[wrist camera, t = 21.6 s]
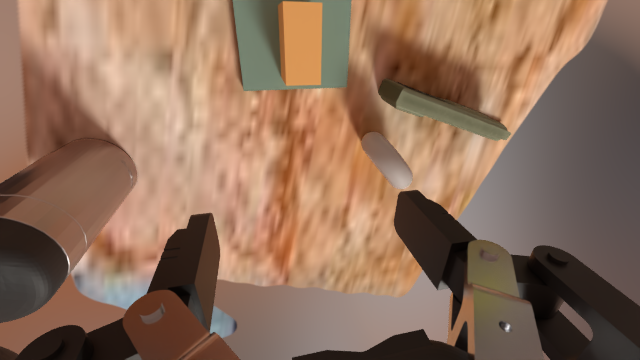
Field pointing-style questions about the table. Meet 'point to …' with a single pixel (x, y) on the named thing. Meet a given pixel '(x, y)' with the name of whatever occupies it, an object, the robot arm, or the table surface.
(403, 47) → the table surface
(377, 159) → the donut
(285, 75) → the orange block
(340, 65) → the green mat
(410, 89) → the handheld radio
